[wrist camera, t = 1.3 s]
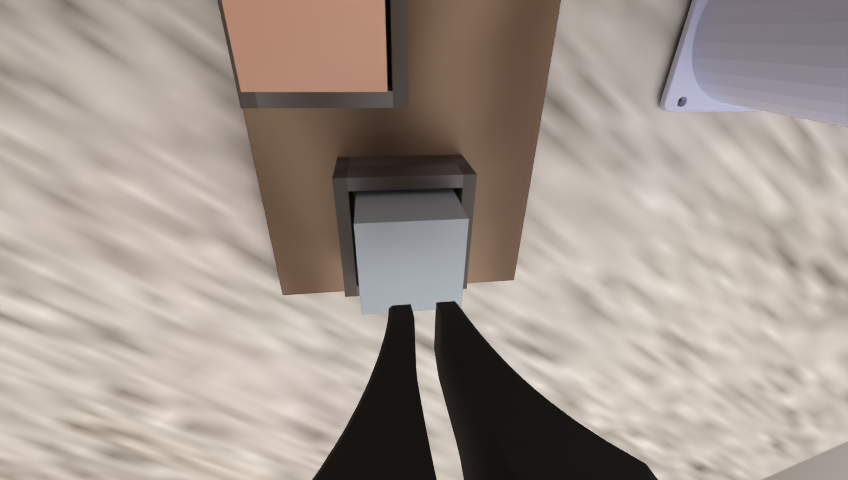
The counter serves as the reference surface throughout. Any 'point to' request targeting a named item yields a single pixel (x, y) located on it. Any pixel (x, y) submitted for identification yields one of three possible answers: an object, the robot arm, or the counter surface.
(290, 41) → the salmon pink cube
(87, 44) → the counter surface
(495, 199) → the brown socket board
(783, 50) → the robot arm
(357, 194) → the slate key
